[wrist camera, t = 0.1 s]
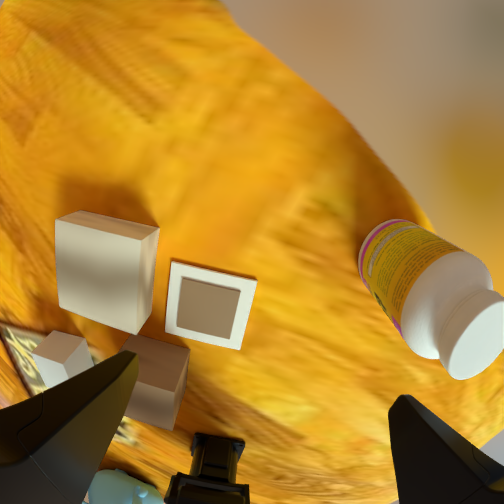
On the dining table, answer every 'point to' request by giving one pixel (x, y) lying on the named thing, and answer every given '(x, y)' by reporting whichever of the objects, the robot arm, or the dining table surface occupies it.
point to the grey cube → (61, 357)
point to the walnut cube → (157, 381)
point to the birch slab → (106, 268)
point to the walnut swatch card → (208, 305)
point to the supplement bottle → (434, 296)
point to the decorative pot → (121, 489)
